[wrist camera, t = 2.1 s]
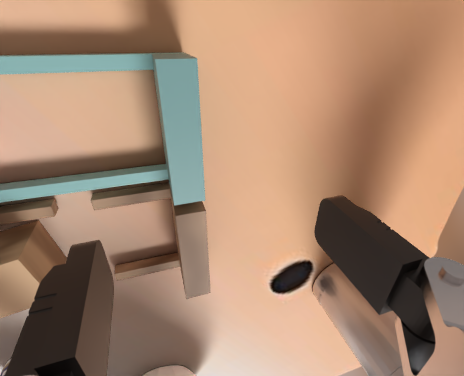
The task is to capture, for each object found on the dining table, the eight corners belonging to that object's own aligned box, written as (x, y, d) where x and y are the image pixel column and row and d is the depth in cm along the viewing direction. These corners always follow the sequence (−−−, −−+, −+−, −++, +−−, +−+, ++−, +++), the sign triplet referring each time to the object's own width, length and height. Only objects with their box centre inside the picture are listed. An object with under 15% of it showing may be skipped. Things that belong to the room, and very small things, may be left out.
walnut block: (38, 219, 23) (17, 259, 19) (67, 257, 26) (54, 299, 22) (-24, 238, 23) (-59, 283, 18) (13, 275, 25) (-12, 322, 21)
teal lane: (183, 52, 20) (197, 58, 15) (192, 170, 25) (205, 200, 21) (-222, 58, 14) (-386, 70, 10) (-103, 208, 19) (-176, 262, 15)
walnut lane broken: (193, 179, 26) (205, 210, 21) (199, 254, 31) (210, 292, 26) (-62, 215, 20) (-118, 267, 16) (-4, 298, 26) (-34, 355, 21)
